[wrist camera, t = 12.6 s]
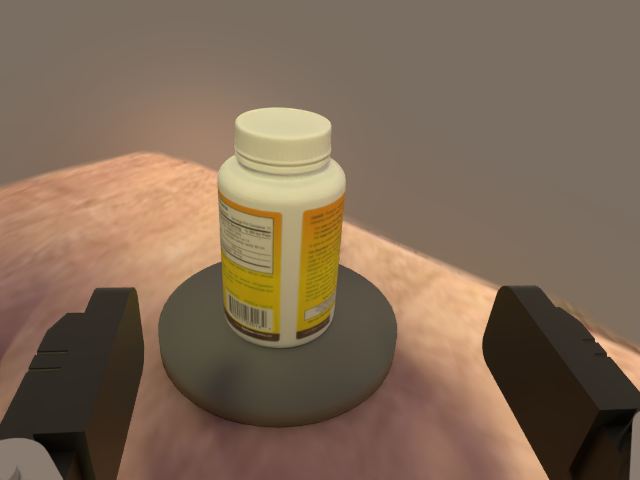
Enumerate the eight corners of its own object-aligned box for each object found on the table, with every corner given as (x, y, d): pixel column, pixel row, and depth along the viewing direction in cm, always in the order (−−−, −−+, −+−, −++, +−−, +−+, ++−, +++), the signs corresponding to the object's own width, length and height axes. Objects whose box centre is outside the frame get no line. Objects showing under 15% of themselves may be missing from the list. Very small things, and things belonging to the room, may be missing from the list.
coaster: (121, 413, 22) (117, 393, 21) (196, 261, 32) (195, 245, 31) (403, 439, 21) (407, 420, 21) (387, 278, 32) (389, 261, 31)
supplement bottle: (326, 284, 29) (342, 103, 23) (340, 353, 24) (363, 146, 19) (226, 284, 28) (219, 99, 23) (219, 356, 23) (209, 142, 18)
